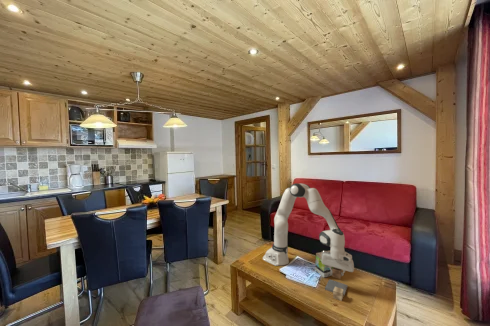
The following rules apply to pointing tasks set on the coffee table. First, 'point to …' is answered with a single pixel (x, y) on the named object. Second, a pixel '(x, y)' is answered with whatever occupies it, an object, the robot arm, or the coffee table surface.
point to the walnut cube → (336, 273)
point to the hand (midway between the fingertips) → (337, 273)
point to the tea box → (322, 266)
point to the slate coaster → (333, 284)
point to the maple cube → (338, 293)
